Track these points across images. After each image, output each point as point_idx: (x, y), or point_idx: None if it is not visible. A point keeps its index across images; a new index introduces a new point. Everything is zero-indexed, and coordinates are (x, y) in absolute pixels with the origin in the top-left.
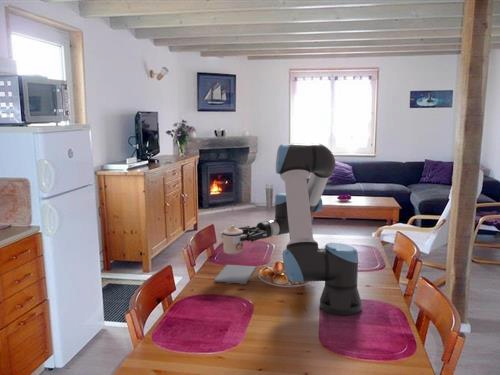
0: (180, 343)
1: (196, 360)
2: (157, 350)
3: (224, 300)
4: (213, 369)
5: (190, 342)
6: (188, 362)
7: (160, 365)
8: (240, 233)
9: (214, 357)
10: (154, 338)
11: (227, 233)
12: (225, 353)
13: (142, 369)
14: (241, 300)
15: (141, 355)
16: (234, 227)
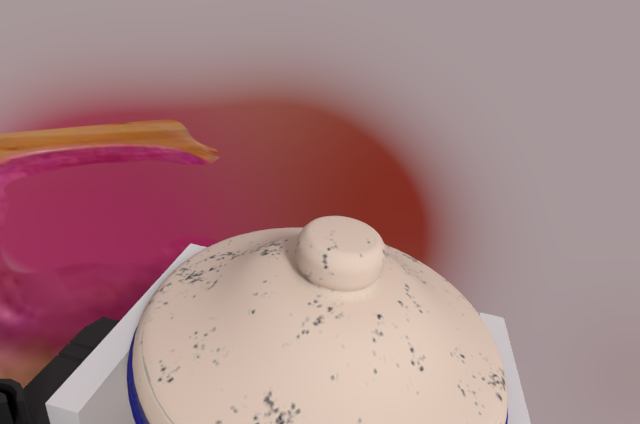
0: (125, 156)
1: (61, 139)
2: (155, 142)
3: (120, 305)
4: (14, 133)
5: (105, 160)
6: (75, 135)
7: (122, 127)
8: (144, 309)
9: (25, 146)
10: (190, 155)
11: (302, 228)
12: (2, 155)
13: (144, 122)
14: (33, 334)
15: (172, 133)
16: (295, 254)
